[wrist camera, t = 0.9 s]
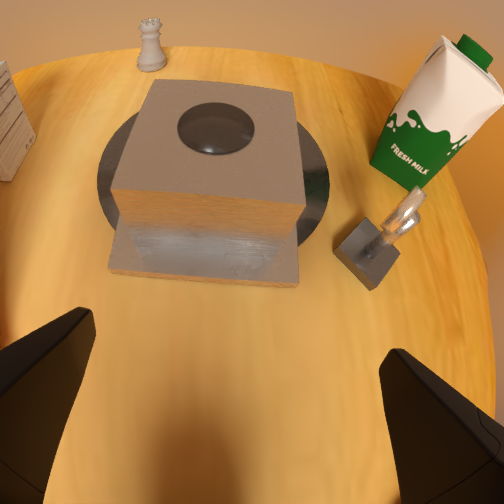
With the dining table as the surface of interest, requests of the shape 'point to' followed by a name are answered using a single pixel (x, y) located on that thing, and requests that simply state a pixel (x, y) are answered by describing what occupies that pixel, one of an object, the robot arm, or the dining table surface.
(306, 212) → the platter
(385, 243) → the rubber stamp
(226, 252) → the cover
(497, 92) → the milk carton
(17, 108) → the supplement box
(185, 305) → the dining table surface
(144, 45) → the rook chess piece
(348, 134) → the dining table surface
